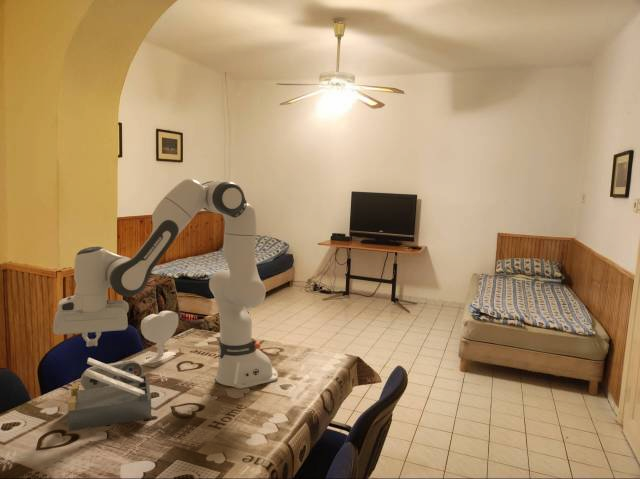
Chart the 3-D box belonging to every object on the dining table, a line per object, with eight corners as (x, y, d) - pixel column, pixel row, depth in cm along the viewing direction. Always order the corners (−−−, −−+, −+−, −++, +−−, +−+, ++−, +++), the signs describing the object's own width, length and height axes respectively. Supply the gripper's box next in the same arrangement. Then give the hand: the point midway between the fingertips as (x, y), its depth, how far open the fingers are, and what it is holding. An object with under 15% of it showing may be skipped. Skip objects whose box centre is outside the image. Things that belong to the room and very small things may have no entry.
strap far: (142, 382, 153) (145, 379, 153) (143, 386, 150) (145, 383, 150) (86, 361, 145) (88, 357, 146) (85, 364, 143) (88, 361, 143)
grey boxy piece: (148, 397, 156) (148, 373, 154) (151, 419, 142) (151, 393, 141) (73, 408, 147) (72, 382, 146) (68, 432, 134) (67, 404, 133)
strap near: (144, 395, 145) (146, 391, 145) (144, 399, 142) (146, 395, 142) (84, 372, 137) (86, 368, 137) (83, 376, 134) (86, 372, 135)
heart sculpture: (171, 350, 198) (171, 308, 195) (180, 352, 195) (179, 310, 193) (139, 361, 184) (139, 316, 182) (148, 364, 182) (147, 319, 179)
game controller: (81, 394, 157) (81, 370, 155) (80, 391, 158) (80, 367, 157) (143, 382, 167) (142, 359, 166) (141, 379, 169) (141, 357, 168)
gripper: (128, 296, 149) (128, 339, 151) (54, 300, 141) (55, 345, 143) (128, 301, 143) (129, 346, 145) (51, 305, 135) (52, 352, 137)
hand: (91, 345), depth 144 cm, fingers closed
